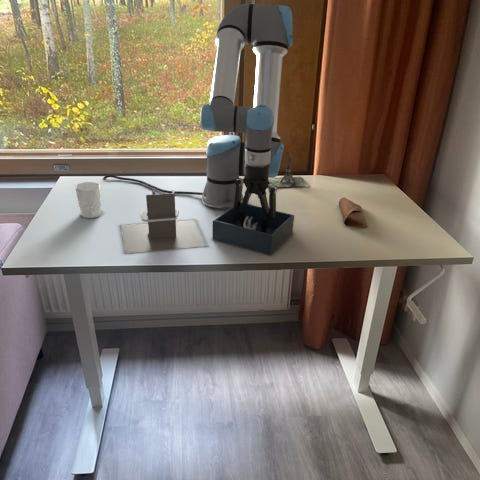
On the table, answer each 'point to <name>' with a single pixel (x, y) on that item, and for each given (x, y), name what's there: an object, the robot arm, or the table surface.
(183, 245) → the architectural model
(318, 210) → the table surface
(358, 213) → the sunglasses case
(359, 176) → the table surface
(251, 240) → the tote
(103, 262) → the table surface
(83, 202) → the white cup
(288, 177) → the eiffel tower figurine
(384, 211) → the table surface
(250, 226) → the soldier figure
